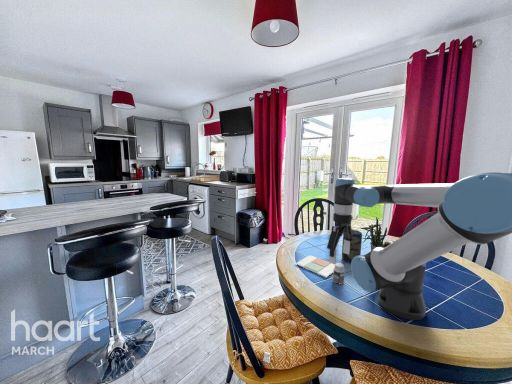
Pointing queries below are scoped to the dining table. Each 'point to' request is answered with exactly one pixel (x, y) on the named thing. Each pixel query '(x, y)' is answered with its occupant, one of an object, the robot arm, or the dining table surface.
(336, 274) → the pill bottle
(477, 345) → the dining table surface
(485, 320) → the dining table surface
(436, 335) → the dining table surface
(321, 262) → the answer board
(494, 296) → the dining table surface
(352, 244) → the canister
